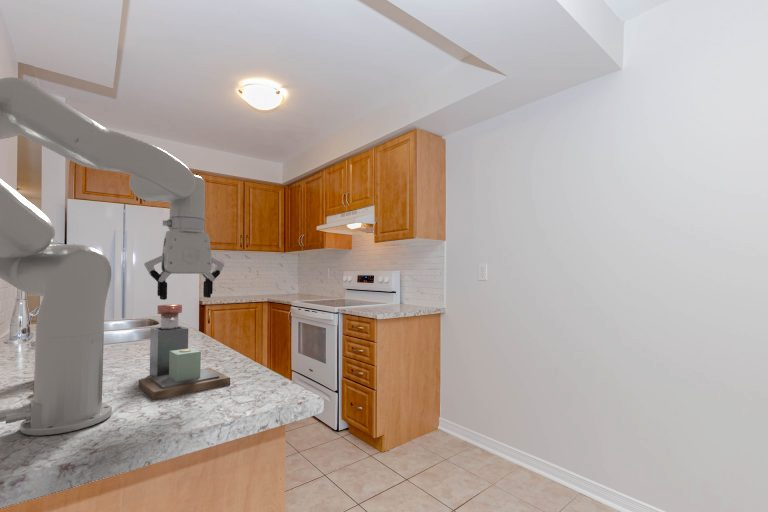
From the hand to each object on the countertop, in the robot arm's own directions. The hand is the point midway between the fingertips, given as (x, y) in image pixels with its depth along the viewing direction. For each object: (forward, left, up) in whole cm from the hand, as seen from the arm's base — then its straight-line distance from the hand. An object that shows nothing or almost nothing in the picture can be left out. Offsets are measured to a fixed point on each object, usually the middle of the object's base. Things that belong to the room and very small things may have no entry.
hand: (185, 298), depth 91 cm
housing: (0, 0, -18) cm, 18 cm away
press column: (0, +13, -20) cm, 24 cm away
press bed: (0, 0, -20) cm, 20 cm away
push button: (0, +13, -11) cm, 17 cm away
